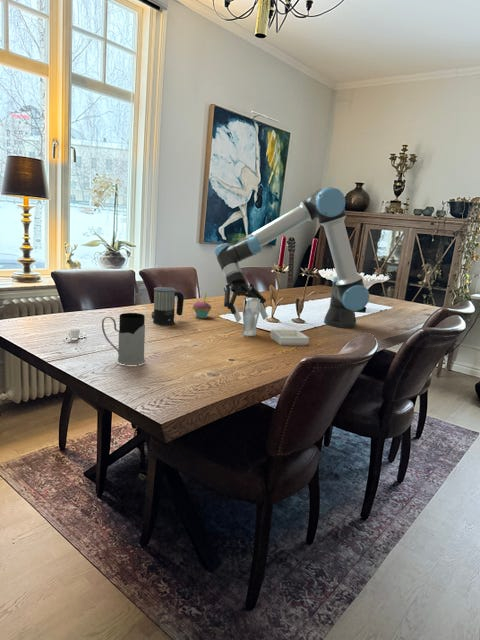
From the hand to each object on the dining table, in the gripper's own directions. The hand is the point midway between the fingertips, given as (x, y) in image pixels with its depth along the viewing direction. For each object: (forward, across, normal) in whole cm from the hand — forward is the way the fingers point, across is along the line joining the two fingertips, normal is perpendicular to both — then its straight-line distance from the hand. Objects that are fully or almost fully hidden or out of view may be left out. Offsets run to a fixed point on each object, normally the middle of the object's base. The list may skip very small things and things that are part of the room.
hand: (252, 319), depth 175 cm
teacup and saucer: (-7, +62, -18) cm, 65 cm away
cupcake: (-19, +3, -30) cm, 36 cm away
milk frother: (-19, +23, -30) cm, 42 cm away
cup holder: (+13, -10, +3) cm, 17 cm away
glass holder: (+11, +58, +1) cm, 59 cm away
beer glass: (+4, 0, -6) cm, 7 cm away
